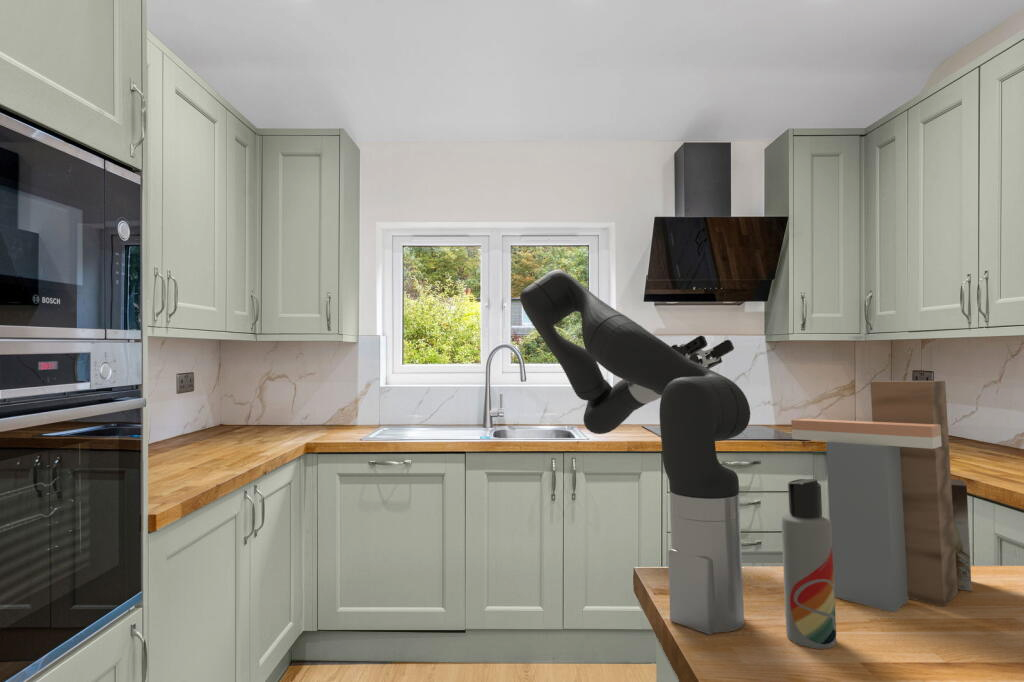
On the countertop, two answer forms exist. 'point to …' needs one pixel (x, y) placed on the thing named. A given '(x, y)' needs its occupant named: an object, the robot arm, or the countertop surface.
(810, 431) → the bar
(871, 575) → the grey stand
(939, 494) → the walnut stand
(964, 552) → the coffee box
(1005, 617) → the countertop surface
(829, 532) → the lotion bottle
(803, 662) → the countertop surface
